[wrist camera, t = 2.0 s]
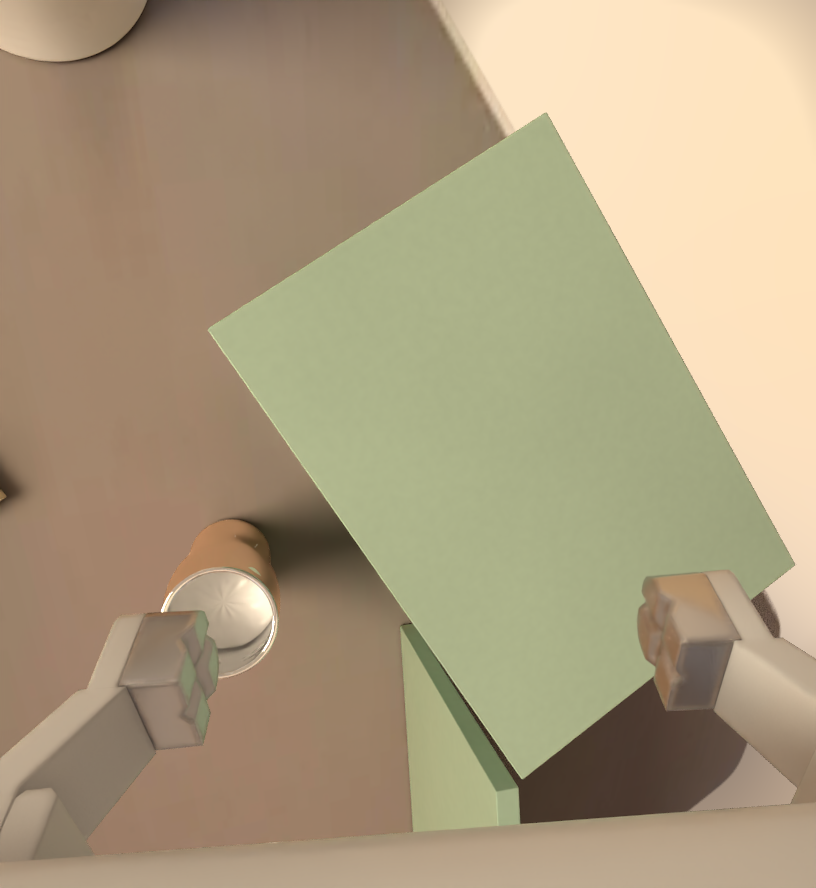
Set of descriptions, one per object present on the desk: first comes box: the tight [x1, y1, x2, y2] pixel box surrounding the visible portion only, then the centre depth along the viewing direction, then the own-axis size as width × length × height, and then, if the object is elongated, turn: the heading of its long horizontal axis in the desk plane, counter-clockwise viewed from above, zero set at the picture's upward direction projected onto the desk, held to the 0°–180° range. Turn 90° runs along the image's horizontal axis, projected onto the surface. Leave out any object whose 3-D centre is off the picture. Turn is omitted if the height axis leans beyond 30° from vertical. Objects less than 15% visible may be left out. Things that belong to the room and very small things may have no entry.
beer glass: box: [161, 519, 280, 679], centre depth 46 cm, size 7×7×15 cm
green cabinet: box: [208, 113, 795, 779], centre depth 44 cm, size 18×26×24 cm
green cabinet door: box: [400, 624, 520, 832], centre depth 48 cm, size 7×26×24 cm, turn 3°
